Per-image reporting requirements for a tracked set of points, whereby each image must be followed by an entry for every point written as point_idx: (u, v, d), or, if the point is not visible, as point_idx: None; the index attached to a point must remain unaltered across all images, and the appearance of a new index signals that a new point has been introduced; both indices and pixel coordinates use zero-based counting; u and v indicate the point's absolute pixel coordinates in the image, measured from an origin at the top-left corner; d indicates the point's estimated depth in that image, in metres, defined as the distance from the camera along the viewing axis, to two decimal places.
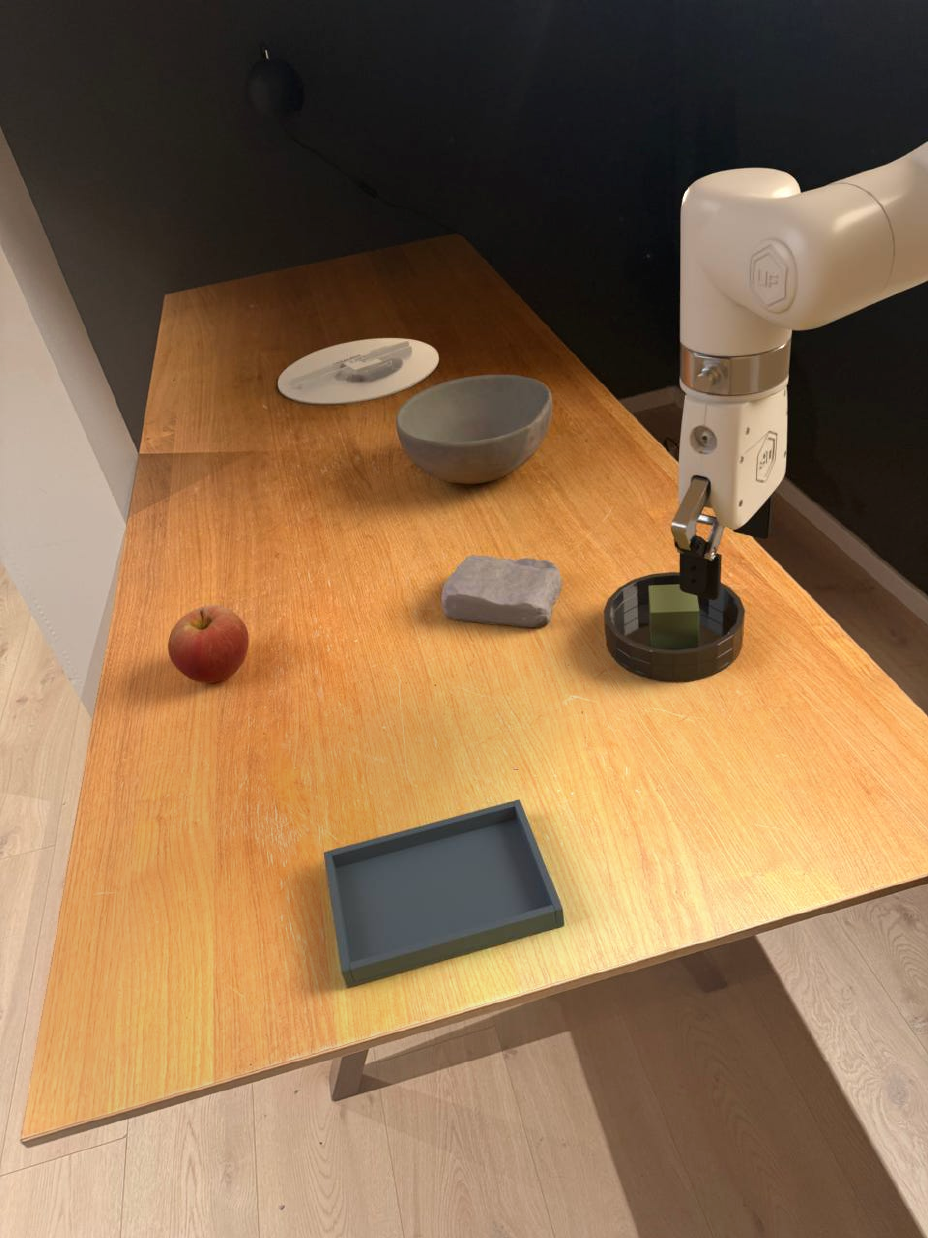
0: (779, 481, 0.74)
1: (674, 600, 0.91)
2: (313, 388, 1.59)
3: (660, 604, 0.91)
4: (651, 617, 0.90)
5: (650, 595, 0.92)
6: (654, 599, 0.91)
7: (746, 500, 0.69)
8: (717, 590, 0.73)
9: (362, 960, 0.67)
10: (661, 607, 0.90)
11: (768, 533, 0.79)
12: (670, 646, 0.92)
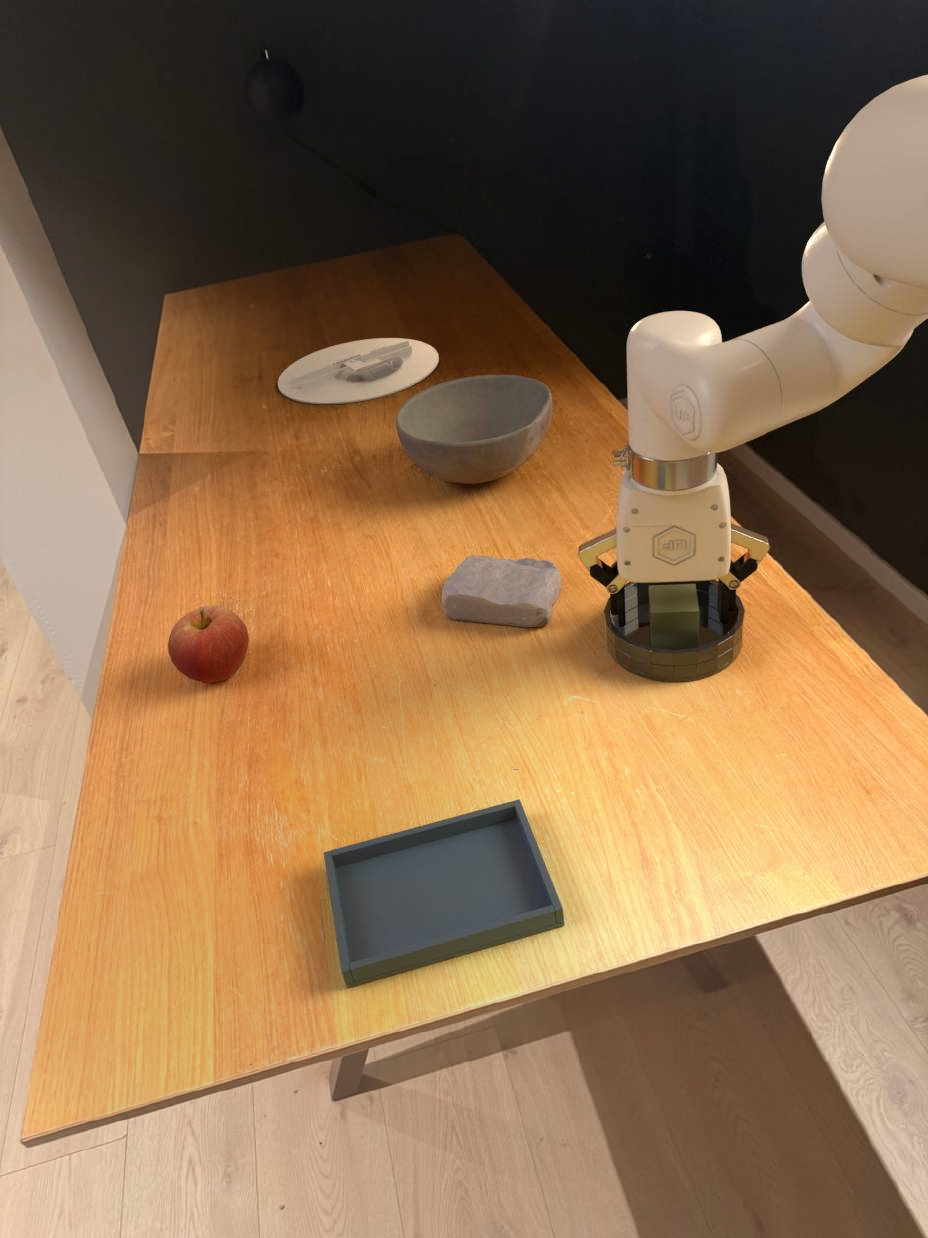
0: (708, 577, 0.86)
1: (674, 600, 0.91)
2: (313, 388, 1.59)
3: (660, 604, 0.91)
4: (651, 617, 0.90)
5: (650, 595, 0.92)
6: (654, 599, 0.91)
7: (636, 564, 0.86)
8: (618, 620, 0.92)
9: (362, 960, 0.67)
10: (661, 607, 0.90)
11: (723, 621, 0.90)
12: (670, 646, 0.92)
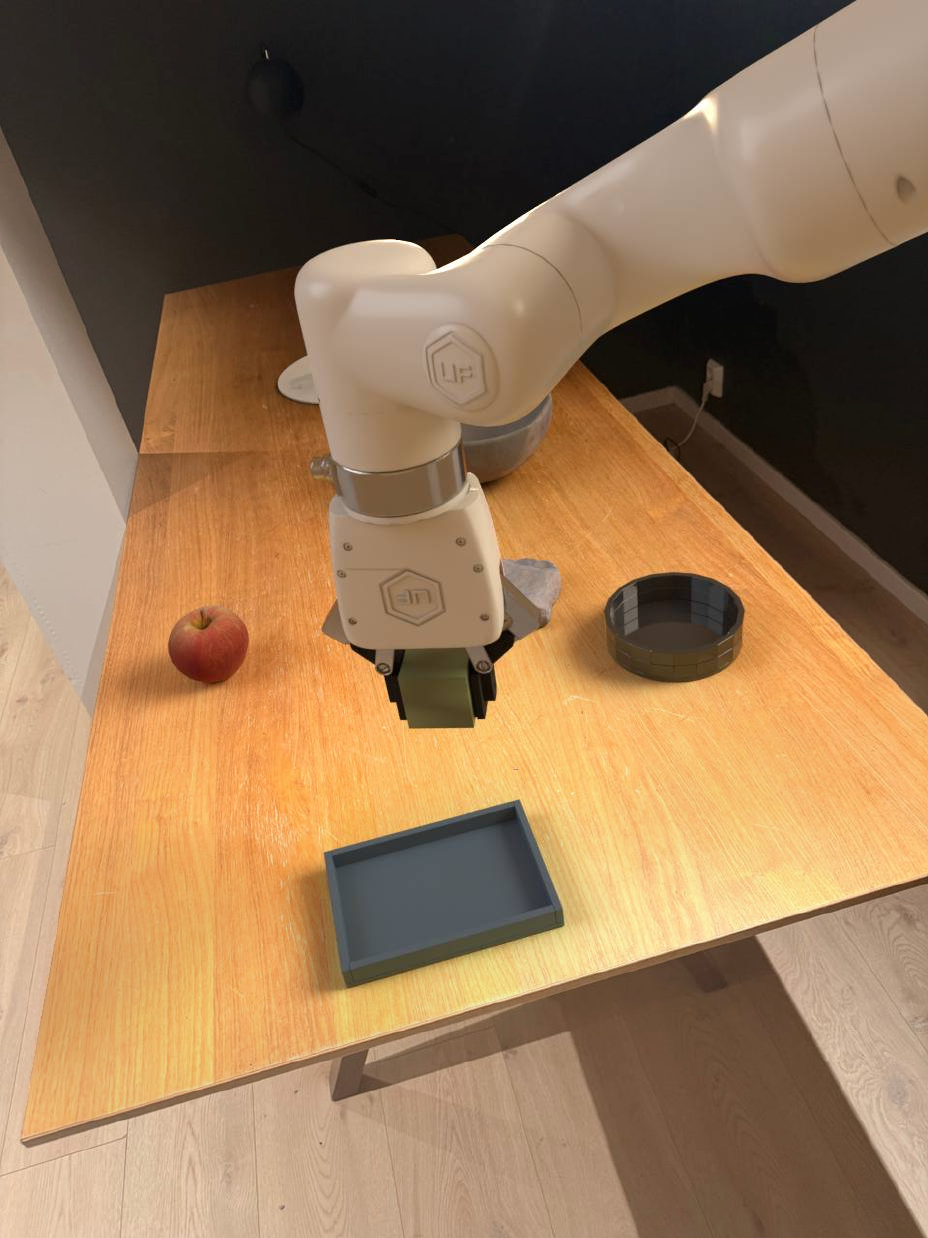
0: (471, 642, 0.58)
1: (437, 659, 0.63)
2: (313, 388, 1.59)
3: (415, 665, 0.63)
4: (400, 684, 0.62)
5: (406, 651, 0.64)
6: (409, 657, 0.63)
7: (365, 623, 0.59)
8: (399, 711, 0.64)
9: (362, 960, 0.67)
10: (415, 670, 0.62)
11: (478, 715, 0.64)
12: (434, 725, 0.64)
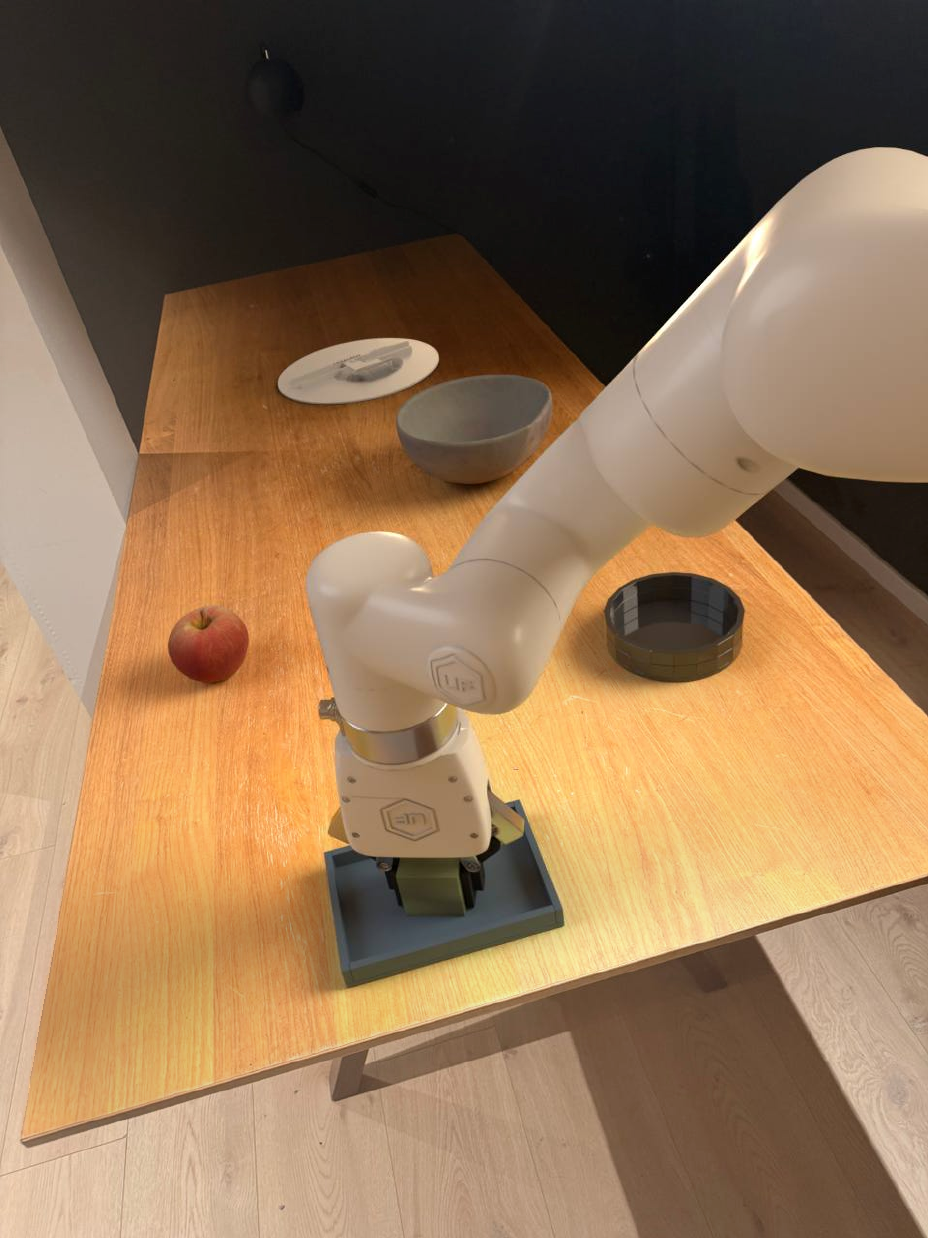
0: (462, 854, 0.65)
1: None
2: (313, 388, 1.59)
3: (411, 863, 0.69)
4: (398, 881, 0.69)
5: None
6: None
7: (367, 837, 0.65)
8: (397, 899, 0.71)
9: (362, 960, 0.67)
10: (412, 868, 0.69)
11: (468, 904, 0.70)
12: (429, 913, 0.71)
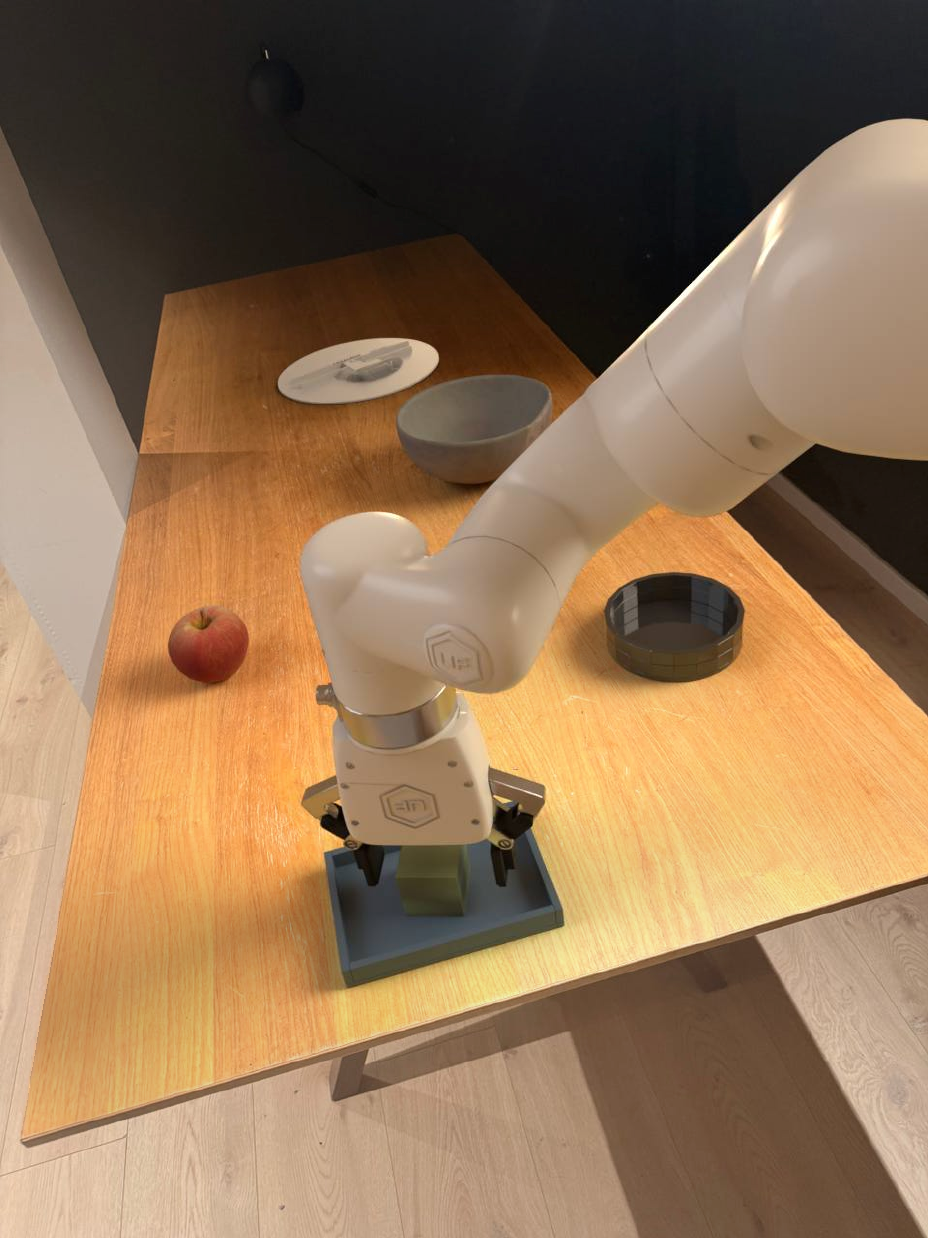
0: (463, 841, 0.64)
1: (430, 857, 0.69)
2: (313, 388, 1.59)
3: (411, 863, 0.69)
4: (397, 881, 0.69)
5: (403, 846, 0.71)
6: (406, 853, 0.70)
7: (367, 825, 0.64)
8: (366, 879, 0.70)
9: (362, 960, 0.67)
10: (411, 868, 0.69)
11: (500, 884, 0.68)
12: (428, 913, 0.71)
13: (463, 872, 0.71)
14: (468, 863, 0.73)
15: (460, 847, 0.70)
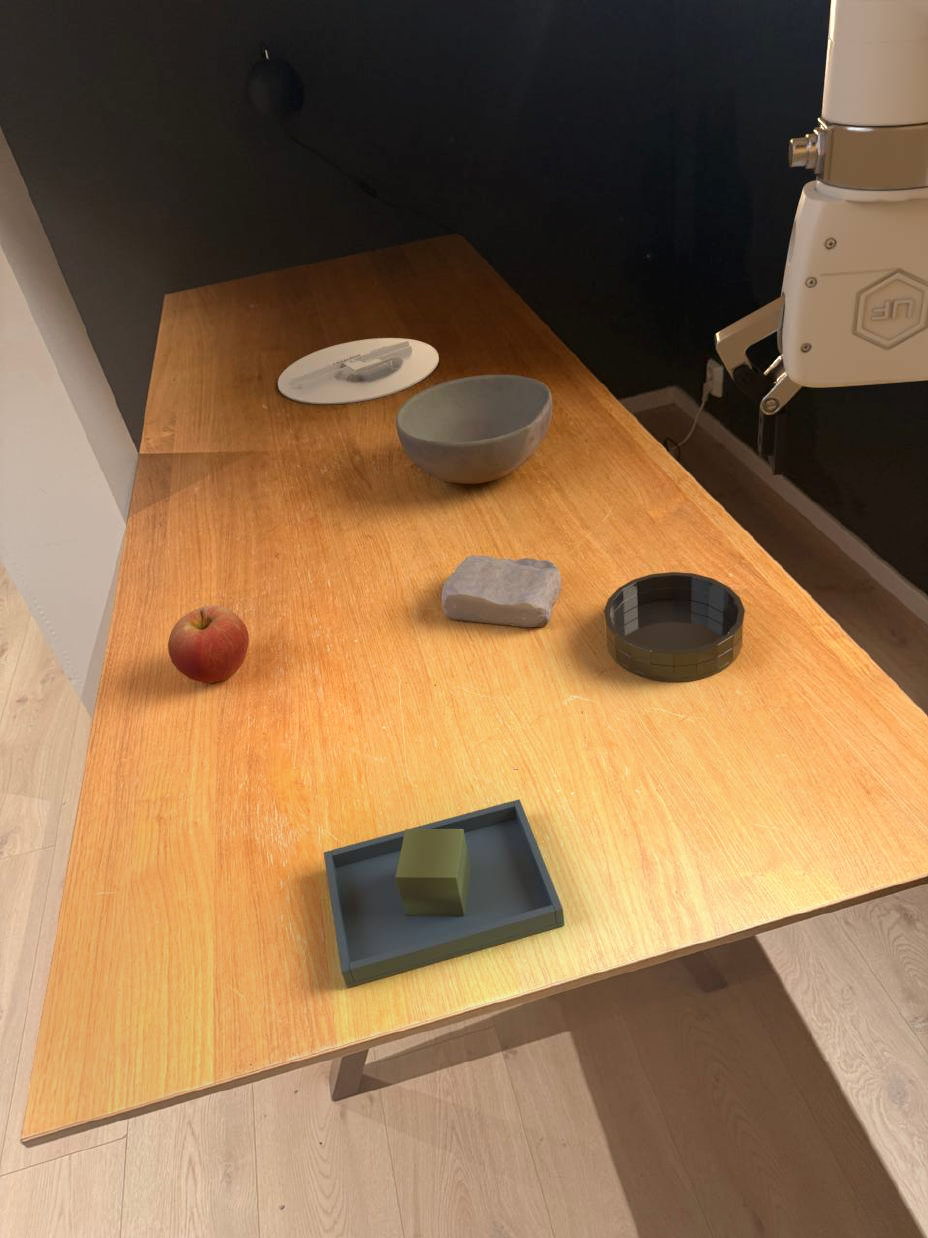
0: None
1: (430, 857, 0.69)
2: (313, 388, 1.59)
3: (411, 863, 0.69)
4: (397, 881, 0.69)
5: (403, 846, 0.71)
6: (406, 853, 0.70)
7: (822, 350, 0.51)
8: (775, 462, 0.57)
9: (362, 960, 0.67)
10: (411, 868, 0.69)
11: None
12: (428, 913, 0.71)
13: (463, 872, 0.71)
14: (468, 863, 0.73)
15: (460, 847, 0.70)
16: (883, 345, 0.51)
